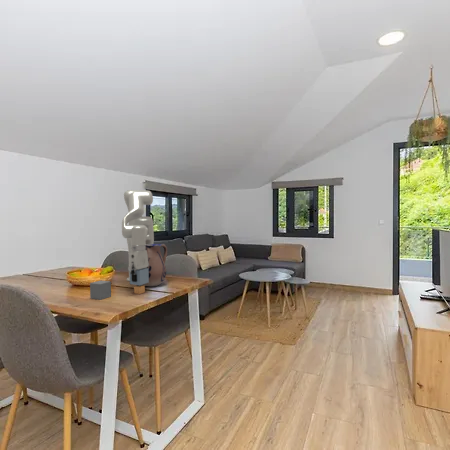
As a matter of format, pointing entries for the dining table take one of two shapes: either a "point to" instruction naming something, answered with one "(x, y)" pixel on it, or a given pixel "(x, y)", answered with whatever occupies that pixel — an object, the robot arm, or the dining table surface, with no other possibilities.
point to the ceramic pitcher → (156, 264)
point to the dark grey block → (100, 290)
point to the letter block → (139, 289)
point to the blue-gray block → (141, 277)
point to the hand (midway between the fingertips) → (139, 279)
